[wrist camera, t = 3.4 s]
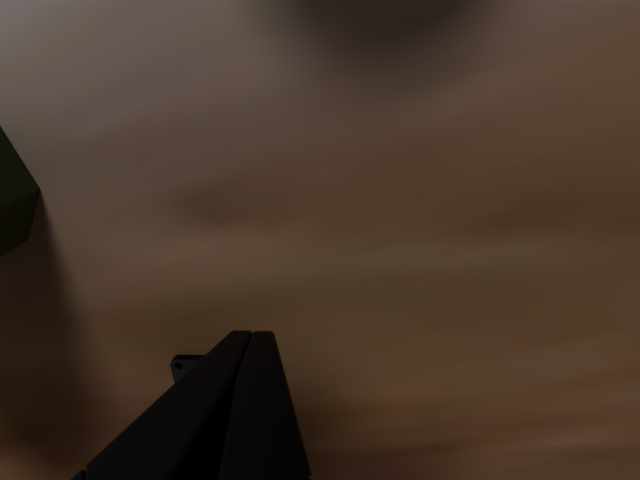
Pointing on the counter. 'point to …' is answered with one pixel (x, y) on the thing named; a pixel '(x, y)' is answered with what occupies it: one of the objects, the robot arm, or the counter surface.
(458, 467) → the counter surface
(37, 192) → the wine bottle
